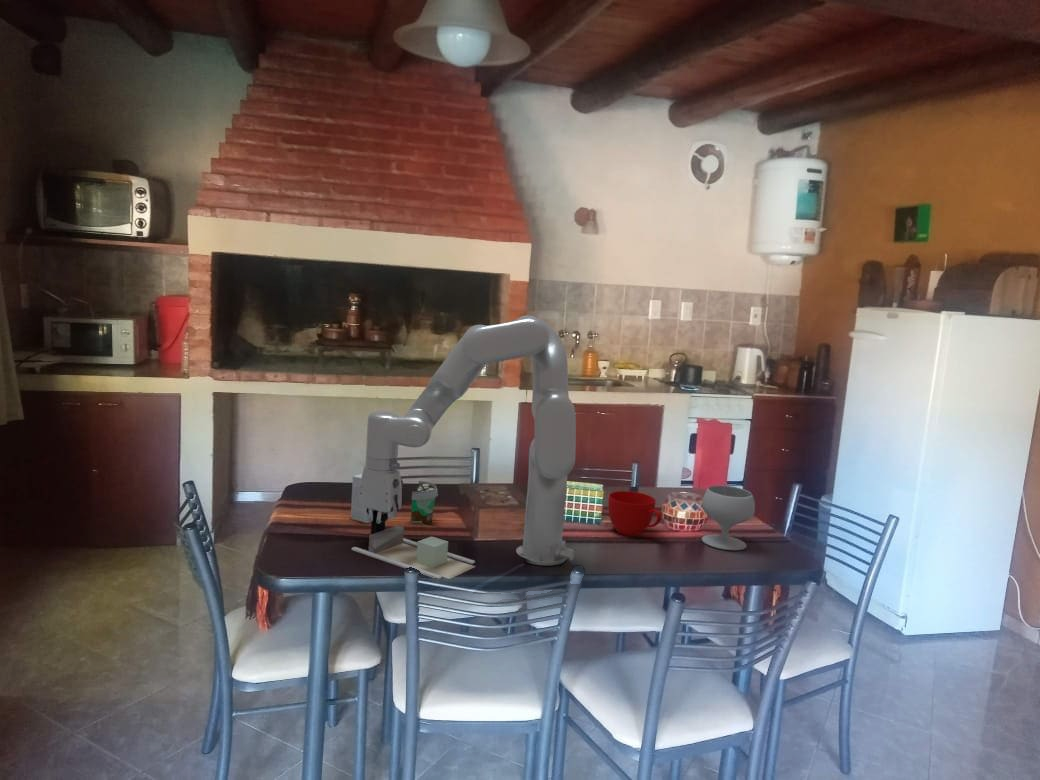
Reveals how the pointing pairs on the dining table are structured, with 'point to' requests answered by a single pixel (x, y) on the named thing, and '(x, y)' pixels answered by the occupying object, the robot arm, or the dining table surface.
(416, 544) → the lane rails
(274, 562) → the dining table surface
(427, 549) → the block
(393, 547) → the beige piece
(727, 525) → the chalice
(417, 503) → the food container
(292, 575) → the dining table surface
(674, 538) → the dining table surface
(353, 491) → the skincare box
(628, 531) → the ceramic cup
